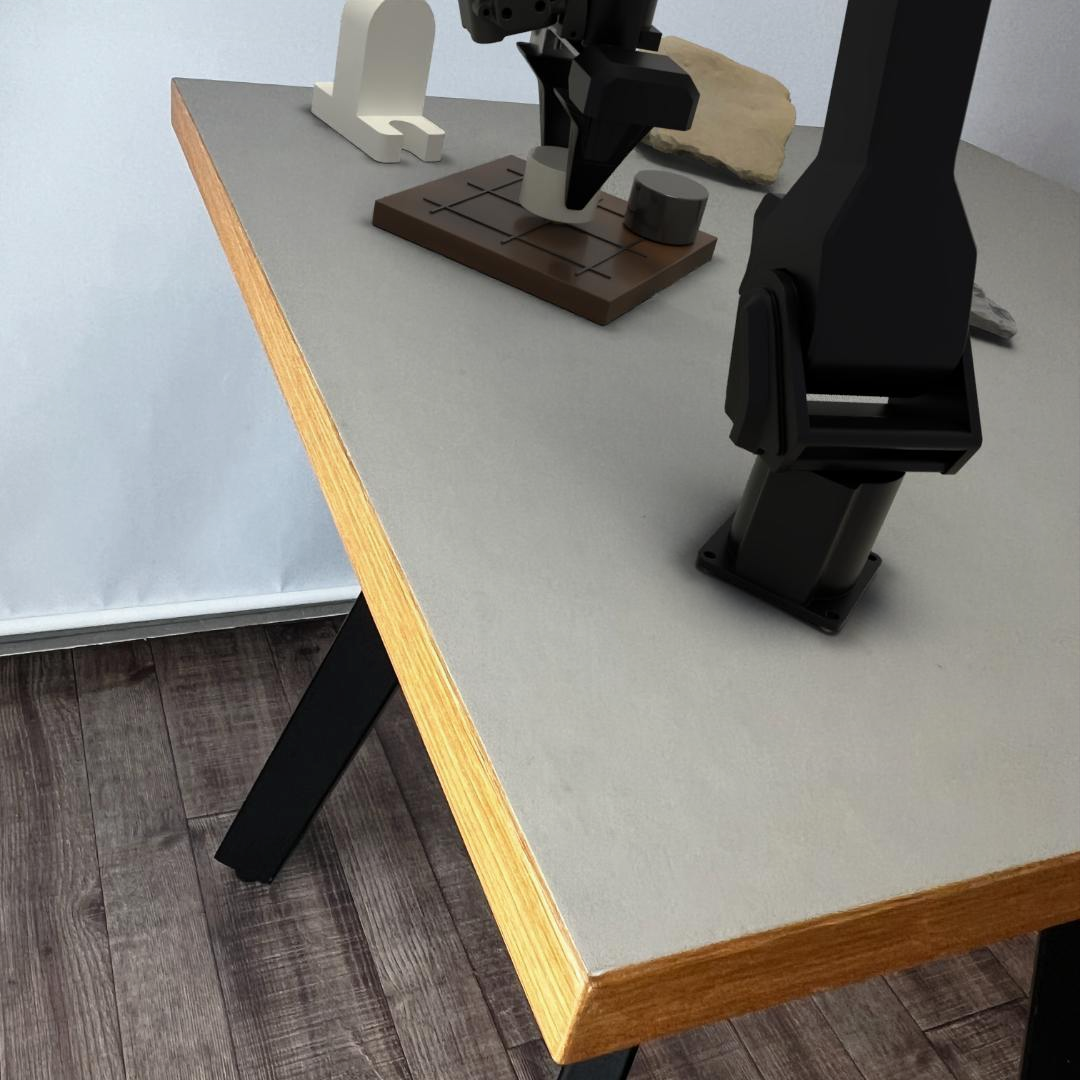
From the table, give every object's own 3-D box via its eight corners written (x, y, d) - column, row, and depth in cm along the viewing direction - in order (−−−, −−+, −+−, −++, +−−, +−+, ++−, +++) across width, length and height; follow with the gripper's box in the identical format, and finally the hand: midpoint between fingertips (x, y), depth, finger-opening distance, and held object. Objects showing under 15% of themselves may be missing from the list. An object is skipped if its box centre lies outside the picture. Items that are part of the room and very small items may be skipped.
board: (603, 326, 69) (610, 299, 68) (371, 224, 74) (375, 198, 73) (711, 258, 81) (719, 235, 80) (506, 175, 86) (511, 152, 85)
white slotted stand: (371, 109, 92) (391, -34, 86) (444, 161, 86) (470, 10, 80) (308, 109, 89) (324, -40, 83) (378, 162, 83) (401, 6, 77)
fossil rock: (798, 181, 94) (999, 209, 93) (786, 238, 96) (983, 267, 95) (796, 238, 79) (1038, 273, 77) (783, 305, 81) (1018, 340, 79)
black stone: (677, 251, 77) (691, 205, 75) (610, 224, 78) (622, 178, 76) (707, 234, 80) (720, 190, 79) (642, 208, 82) (654, 164, 80)
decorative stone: (604, 121, 102) (629, 18, 98) (774, 166, 102) (807, 65, 98) (592, 147, 96) (618, 38, 91) (773, 197, 95) (809, 89, 91)
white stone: (572, 230, 74) (583, 181, 72) (504, 201, 75) (513, 153, 73) (607, 213, 77) (619, 167, 76) (542, 186, 79) (552, 140, 77)
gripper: (446, -145, 72) (405, 123, 80) (527, -75, 57) (466, 242, 66) (623, -108, 75) (566, 145, 84) (741, -33, 61) (657, 262, 70)
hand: (561, 192), depth 76 cm, fingers closed on white stone, 5 cm apart
